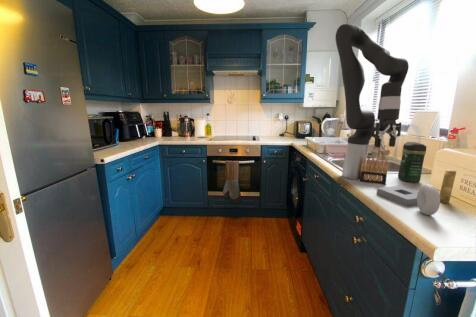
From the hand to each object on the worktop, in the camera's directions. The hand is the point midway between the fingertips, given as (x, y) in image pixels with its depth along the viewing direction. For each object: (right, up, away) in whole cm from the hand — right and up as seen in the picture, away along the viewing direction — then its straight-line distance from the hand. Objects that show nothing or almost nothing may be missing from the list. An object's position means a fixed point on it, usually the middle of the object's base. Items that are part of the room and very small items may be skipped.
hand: (384, 147), depth 96 cm
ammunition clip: (0, -16, +9) cm, 19 cm away
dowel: (+15, -21, -12) cm, 28 cm away
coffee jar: (+21, -16, +14) cm, 29 cm away
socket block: (+1, -20, -9) cm, 22 cm away
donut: (-1, -23, -22) cm, 32 cm away
